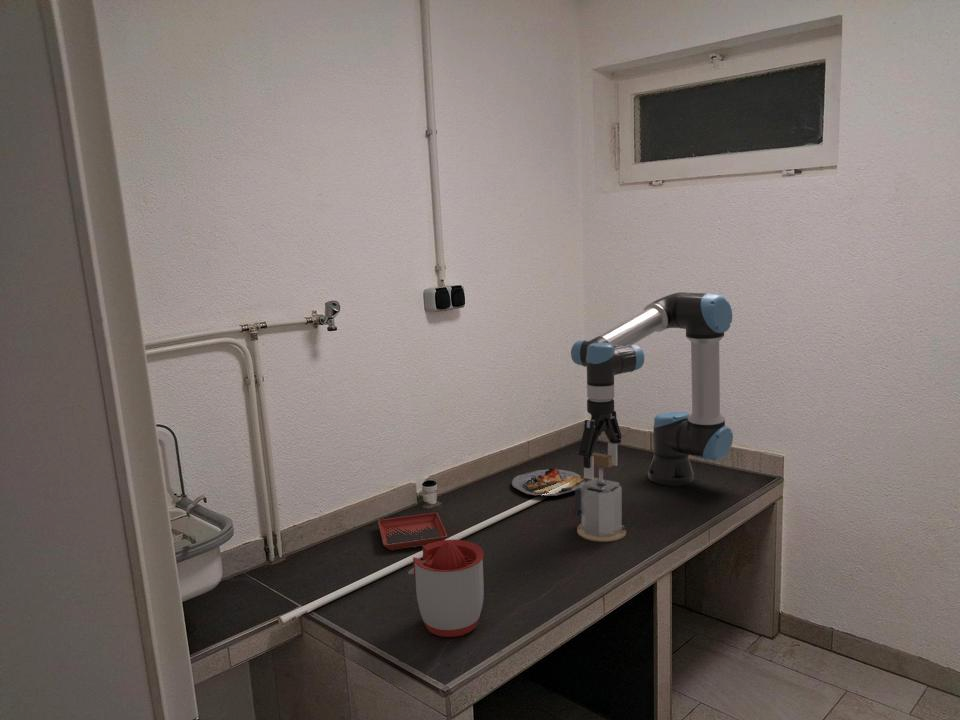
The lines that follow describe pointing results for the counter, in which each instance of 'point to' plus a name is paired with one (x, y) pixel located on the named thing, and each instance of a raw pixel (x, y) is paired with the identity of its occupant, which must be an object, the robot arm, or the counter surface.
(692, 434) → the robot arm
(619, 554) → the counter surface
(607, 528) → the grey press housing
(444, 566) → the citrus juicer
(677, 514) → the counter surface
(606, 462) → the plunger
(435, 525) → the plant saucer
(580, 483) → the food plate
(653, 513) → the counter surface
